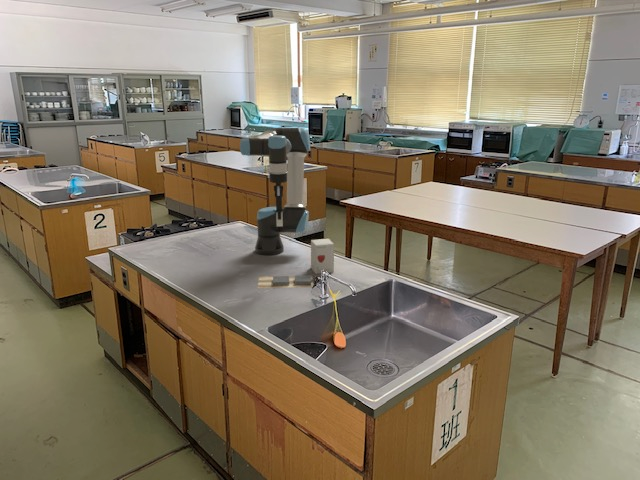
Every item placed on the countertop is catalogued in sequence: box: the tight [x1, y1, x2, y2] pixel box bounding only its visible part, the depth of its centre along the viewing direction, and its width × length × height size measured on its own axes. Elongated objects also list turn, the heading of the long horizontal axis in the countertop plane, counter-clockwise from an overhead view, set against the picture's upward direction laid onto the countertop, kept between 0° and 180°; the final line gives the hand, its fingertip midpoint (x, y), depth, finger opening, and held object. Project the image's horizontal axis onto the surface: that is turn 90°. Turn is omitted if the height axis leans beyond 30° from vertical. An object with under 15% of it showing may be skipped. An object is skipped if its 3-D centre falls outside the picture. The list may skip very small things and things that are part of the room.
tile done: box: [294, 274, 312, 285], centre depth 214 cm, size 7×7×2 cm
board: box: [257, 274, 314, 289], centre depth 215 cm, size 14×24×1 cm, turn 93°
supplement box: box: [310, 238, 335, 274], centre depth 228 cm, size 9×9×15 cm
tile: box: [273, 275, 290, 286], centre depth 214 cm, size 2×7×7 cm
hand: (279, 225), depth 216 cm, fingers closed
